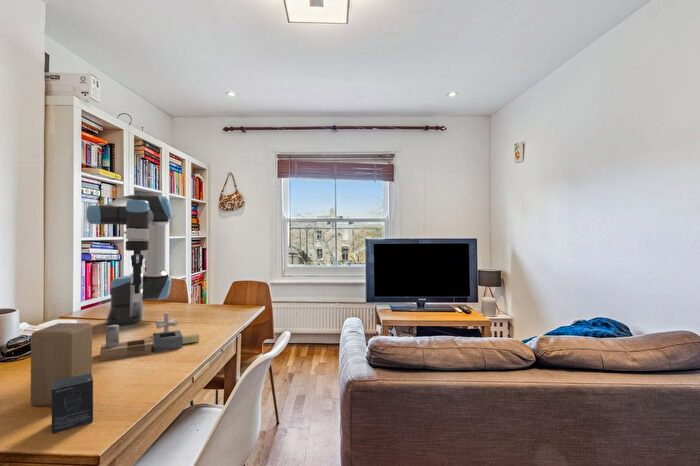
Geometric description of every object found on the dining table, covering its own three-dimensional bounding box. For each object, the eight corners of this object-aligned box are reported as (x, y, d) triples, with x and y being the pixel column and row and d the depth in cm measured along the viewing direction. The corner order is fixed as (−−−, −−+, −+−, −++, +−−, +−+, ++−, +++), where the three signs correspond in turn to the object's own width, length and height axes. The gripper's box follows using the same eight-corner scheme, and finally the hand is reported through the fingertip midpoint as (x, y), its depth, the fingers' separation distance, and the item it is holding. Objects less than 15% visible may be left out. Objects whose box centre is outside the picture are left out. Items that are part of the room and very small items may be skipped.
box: (91, 413, 89) (92, 372, 89) (93, 422, 85) (93, 379, 85) (51, 423, 84) (52, 380, 84) (51, 434, 80) (51, 388, 80)
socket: (152, 344, 143) (152, 333, 143) (179, 340, 148) (179, 330, 148) (154, 351, 134) (154, 340, 134) (182, 347, 140) (182, 336, 140)
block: (56, 390, 101) (57, 322, 101) (93, 389, 102) (93, 322, 102) (28, 407, 91) (29, 332, 91) (68, 406, 92) (69, 332, 92)
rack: (101, 353, 131) (101, 324, 131) (150, 346, 140) (150, 319, 139) (100, 360, 124) (100, 330, 124) (151, 353, 133) (151, 324, 133)
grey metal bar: (130, 314, 134) (130, 273, 134) (142, 313, 136) (142, 273, 136) (130, 317, 131) (130, 274, 130) (142, 315, 133) (143, 274, 133)
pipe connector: (167, 338, 150) (168, 315, 150) (148, 337, 152) (148, 314, 152) (183, 332, 160) (183, 310, 160) (164, 330, 162) (164, 309, 162)
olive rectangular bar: (177, 342, 144) (177, 336, 144) (198, 339, 149) (198, 333, 149) (178, 344, 142) (178, 338, 142) (199, 341, 146) (199, 335, 146)
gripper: (125, 239, 138) (125, 297, 138) (125, 240, 124) (124, 305, 124) (147, 239, 142) (146, 296, 143) (149, 240, 128) (148, 303, 128)
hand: (136, 300), depth 133 cm, fingers closed on grey metal bar, 4 cm apart
